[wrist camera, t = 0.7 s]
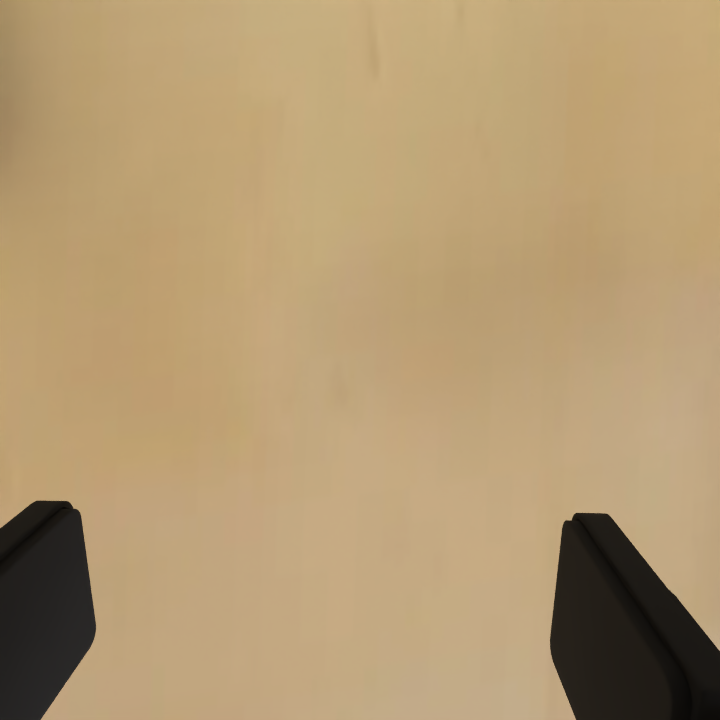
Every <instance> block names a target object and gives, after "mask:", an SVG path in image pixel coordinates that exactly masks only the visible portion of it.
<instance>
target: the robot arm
mask: <svg viewBox="0 0 720 720" xmlns="http://www.w3.org/2000/svg"><path fill="white" fill-rule="evenodd" d="M95 632H96V622H95V615H94V608H93V600H92V593H91V586H90V578H89V571H88V564H87V556H86V549H85V542H84V534H83V527H82V520H81V515H80V512H79V511H78V510H77V509H73V507H72V505H71V503H69V502H67V501H35V502H33V503H32V504H30V505H29V506H28V507H27V508H25V509H24V510H23V511H22V512H20V513H19V514H18V515H17V516H15V517H14V518H13V519H12V520H10V521H9V522H8V523H7V524H5V525H4V526H3V527H2V528H0V720H41V718H42V717H43V715H44V714H45V712H46V711H47V709H48V708H49V707H50V705H51V704H52V702H53V701H54V699H55V698H56V696H57V695H58V693H59V692H60V691H61V689H62V688H63V686H64V685H65V683H66V682H67V680H68V679H69V677H70V676H71V675H72V673H73V672H74V670H75V669H76V667H77V666H78V664H79V663H80V661H81V660H82V659H83V657H84V656H85V654H86V653H87V651H88V650H89V648H90V647H91V645H92V643H93V640H94V637H95ZM550 649H551V655H552V659H553V662H554V665H555V668H556V670H557V673H558V675H559V678H560V680H561V683H562V685H563V688H564V690H565V693H566V695H567V698H568V700H569V703H570V705H571V708H572V710H573V713H574V715H575V718H576V720H720V651H719V650H718V649H717V647H716V646H715V645H714V644H713V642H712V641H711V640H710V639H709V637H708V636H707V635H706V634H705V632H704V631H703V630H702V629H701V627H700V626H699V625H698V624H697V622H696V621H695V620H694V619H693V617H692V616H691V615H690V614H689V612H688V611H687V610H686V609H685V607H684V606H683V605H682V604H681V602H680V601H679V600H678V599H677V597H676V596H675V595H674V594H673V593H672V592H671V591H670V590H668V588H667V587H666V586H665V585H664V583H663V582H662V581H661V580H660V578H659V577H658V576H657V575H656V573H655V572H654V571H653V570H652V568H651V567H650V566H649V564H648V563H647V562H646V561H645V559H644V558H643V557H642V556H641V554H640V553H639V552H638V551H637V549H636V548H635V547H634V546H633V544H632V543H631V542H630V541H629V539H628V538H627V537H626V536H625V534H624V533H623V532H622V530H621V529H620V528H619V527H618V525H617V524H616V523H615V522H614V520H613V519H612V518H611V517H610V516H609V515H608V514H601V513H576V514H574V516H573V518H572V521H567V520H566V521H565V522H564V524H563V528H562V536H561V545H560V554H559V563H558V572H557V582H556V591H555V600H554V609H553V618H552V627H551V636H550Z"/></svg>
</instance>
